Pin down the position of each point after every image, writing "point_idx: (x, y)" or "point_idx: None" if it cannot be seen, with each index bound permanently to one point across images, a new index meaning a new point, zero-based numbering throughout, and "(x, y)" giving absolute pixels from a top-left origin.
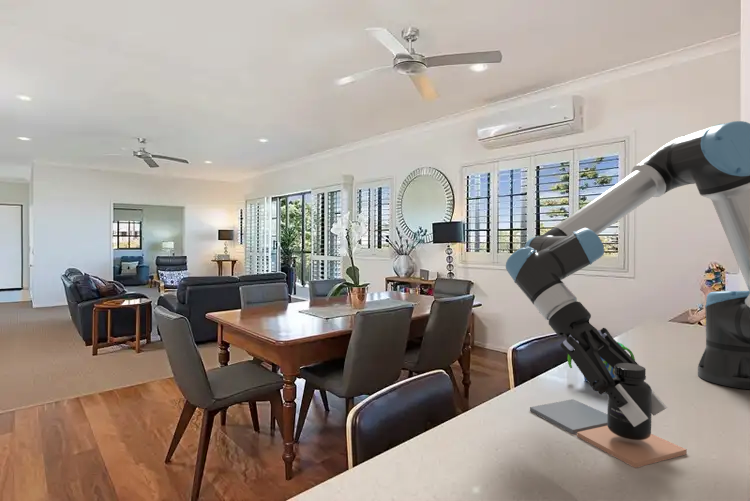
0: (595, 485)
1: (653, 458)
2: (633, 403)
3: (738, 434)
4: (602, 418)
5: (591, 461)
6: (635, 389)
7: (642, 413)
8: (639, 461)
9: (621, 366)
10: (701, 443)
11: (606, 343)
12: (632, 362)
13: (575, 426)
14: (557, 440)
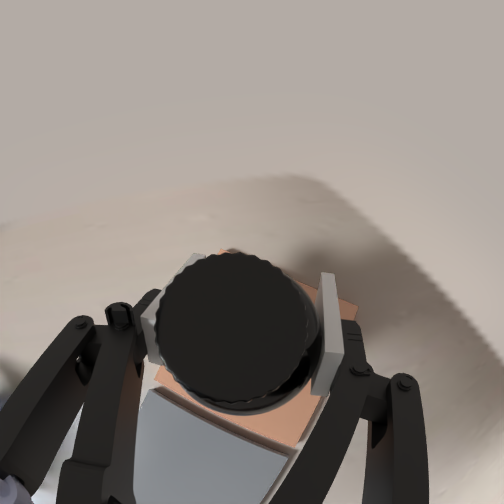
0: (452, 332)
1: (311, 287)
2: (335, 301)
3: (88, 207)
4: (167, 424)
5: (387, 376)
6: (305, 296)
7: (331, 281)
8: (345, 303)
9: (262, 361)
10: (154, 241)
11: (94, 487)
12: (76, 345)
13: (263, 460)
14: (343, 462)
